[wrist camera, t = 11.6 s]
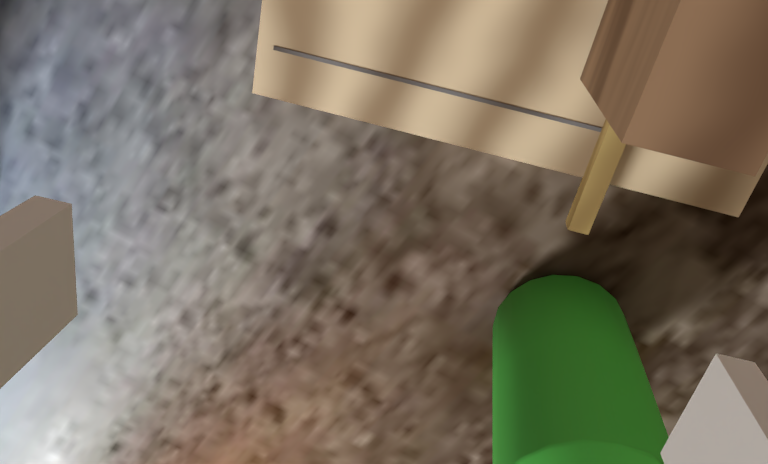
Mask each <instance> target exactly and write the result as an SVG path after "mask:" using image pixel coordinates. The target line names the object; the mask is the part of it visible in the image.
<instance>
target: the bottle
mask: <svg viewBox="0 0 768 464" xmlns="http://www.w3.org/2000/svg"><path fill="white" fill-rule="evenodd" d="M668 438H669V437H668V434H667V432H666V429H665V426H664V423H663V420H662V418H661V415H660V412H659V409H658V406H657V404H656V401H655V398H654V395H653V392H652V390H651V387H650V384H649V381H648V379H647V376H646V373H645V370H644V368H643V365H642V362H641V359H640V357H639V354H638V351H637V349H636V346H635V343H634V340H633V338H632V335H631V332H630V329H629V327H628V324H627V321H626V318H625V316H624V314H623V312H622V310H621V308H620V306H619V304H618V302H617V300H616V299H615V298H614V297H613V296H612V295H611V294H610V293H608V292H607V291H606V290H605V289H604V288H603V287H601V286H600V285H599V284H596V283H594V282H591V281H588V280H586V279H583V278H581V277H578V276H565V275H550V276H546V277H542V278H538V279H533V280H530V281H528V282H526V283H525V284H523V285H521V286H520V287H518V288H516V289H515V290H513V291H512V292H510V294H509V295H508V296H507V297H506V299H505V300H504V301H503V302H502V304H501V305H500V306H499V307H498V310H497V314H496V317H495V320H494V324H493V464H664V462H663V459H662V457H661V454H660V452H661V451H662V449H663V447H664V445H665V444H666V442H667V440H668Z"/></svg>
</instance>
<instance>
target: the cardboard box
mask: <svg viewBox="0 0 768 464" xmlns="http://www.w3.org/2000/svg"><path fill="white" fill-rule="evenodd" d="M580 80H581V81H582V83H583V84H584V86H585V88H586V89H587V91H588V92H589V94H590V95H591V97H592V98H593V100H594V101H595V103H596V104H597V106H598V107H599V109H600V110H601V112H602V114H603V115H604V117H605V118H606V120H605V122H604V125H603V127H602V130H601V132H600V135H599V138H598V140H597V143H596V145H595V148H594V150H593V153H592V155H591V158H590V160H589V163H588V166H587V168H586V171H585V173H584V176H583V178H582V181H581V183H580V186H579V188H578V191H577V194H576V196H575V199H574V201H573V204H572V206H571V209H570V211H569V214H568V216H567V219H566V225H567V228H568V230H571V231H575V232H578V233H582V234H586V235H588V234H589V232H590V230H591V227H592V225H593V222H594V220H595V218H596V215H597V213H598V210H599V208H600V206H601V203H602V201H603V198H604V196H605V194H606V191H607V189H608V186H609V184H610V182H611V179H612V177H613V174H614V172H615V170H616V167H617V165H618V162H619V160H620V158H621V155H622V153H623V150H624V148H625V146H626V144H628V145H632V146H636V147H640V148H644V149H648V150H652V151H656V152H660V153H664V154H667V155H671V156H675V157H679V158H683V159H687V160H691V161H695V162H699V163H703V164H707V165H711V166H715V167H719V168H723V169H727V170H731V171H735V172H739V173H743V174H747V175H751V176H756V174H757V172H758V170H759V169H760V167H761V165H762V163H763V161H764V159H765V157H766V156H767V154H768V0H608V2H607V5H606V8H605V11H604V13H603V16H602V19H601V22H600V25H599V27H598V30H597V33H596V36H595V38H594V41H593V44H592V47H591V50H590V52H589V55H588V58H587V61H586V63H585V66H584V69H583V72H582V74H581V77H580Z"/></svg>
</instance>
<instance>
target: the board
mask: <svg viewBox="0 0 768 464" xmlns="http://www.w3.org/2000/svg"><path fill="white" fill-rule="evenodd" d="M607 2H608V0H262V8H261V17H260V27H259V36H258V45H257V54H256V63H255V72H254V82H253V91H252V93H254V94H258V95H262V96H266V97H270V98H274V99H278V100H282V101H286V102H290V103H293V104H297V105H301V106H305V107H309V108H313V109H317V110H321V111H325V112H329V113H333V114H336V115H340V116H344V117H348V118H352V119H356V120H360V121H364V122H368V123H372V124H375V125H379V126H383V127H387V128H391V129H395V130H399V131H403V132H407V133H411V134H415V135H418V136H422V137H426V138H430V139H434V140H438V141H442V142H446V143H450V144H454V145H458V146H461V147H465V148H469V149H473V150H477V151H481V152H485V153H489V154H493V155H497V156H500V157H504V158H508V159H512V160H516V161H520V162H524V163H528V164H532V165H536V166H540V167H543V168H547V169H551V170H555V171H559V172H563V173H567V174H571V175H575V176H579V177H583V176H584V173H585V171H586V168H587V166H588V163H589V160H590V158H591V155H592V153H593V150H594V148H595V145H596V143H597V140H598V138H599V135H600V132H601V130H602V127H603V125H604V122H605V120H606V118H605V117H604V115H603V114H602V112H601V110H600V109H599V107H598V106H597V104H596V103H595V101H594V100H593V98H592V97H591V95H590V94H589V92H588V91H587V89H586V88H585V86H584V84H583V83H582V81H581V80H580V77H581V74H582V72H583V69H584V66H585V63H586V61H587V58H588V55H589V52H590V50H591V47H592V44H593V41H594V38H595V36H596V33H597V30H598V27H599V25H600V22H601V19H602V16H603V13H604V11H605V8H606V5H607ZM767 164H768V154H767V156H766V157H765V159H764V161H763V163H762V165H761V167H760V169H759V170H758V172H757V174H756V176H751V175H747V174H743V173H739V172H735V171H731V170H727V169H723V168H719V167H715V166H711V165H707V164H703V163H699V162H695V161H691V160H687V159H683V158H679V157H675V156H671V155H667V154H664V153H660V152H656V151H652V150H648V149H644V148H640V147H636V146H632V145H628V144H626V146H625V148H624V150H623V153H622V155H621V158H620V160H619V162H618V165H617V167H616V170H615V172H614V174H613V177H612V179H611V182H610V185H614V186H618V187H622V188H625V189H629V190H633V191H637V192H641V193H645V194H649V195H653V196H657V197H661V198H665V199H668V200H672V201H676V202H680V203H684V204H688V205H692V206H696V207H700V208H704V209H707V210H711V211H715V212H719V213H723V214H727V215H731V216H735V217H739V216H740V214H741V212H742V210H743V208H744V206H745V205H746V203H747V201H748V199H749V197H750V195H751V193H752V192H753V190H754V188H755V186H756V184H757V182H758V181H759V179H760V177H761V175H762V173H763V171H764V169H765V168H766V166H767Z"/></svg>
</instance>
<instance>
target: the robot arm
mask: <svg viewBox="0 0 768 464" xmlns="http://www.w3.org/2000/svg"><path fill="white" fill-rule="evenodd" d="M77 315H78V314H77V295H76V277H75V258H74V240H73V221H72V204H70V203H65V202H61V201H57V200H53V199H48V198H44V197H40V196H33V197H32V198H30V199H28V200H27V201H25V202H23V203H22V204H20V205H18V206H16V207H15V208H13V209H11V210H10V211H8V212H6V213H5V214H3V215H1V216H0V388H1V387H3V386H4V385H5V384H6V383H7V382H8V381H9V380H10V379H11V378H12V377H13V376H14V375H15V374H16V373H17V372H18V371H19V370H20V369H21V368H22V367H23V366H24V365H25V364H27V363H28V362H29V361H30V360H31V359H32V358H33V357H34V356H35V355H36V354H37V353H38V352H39V351H40V350H41V349H42V348H43V347H44V346H45V345H46V344H47V343H48V342H50V341H51V340H52V339H53V338H54V337H55V336H56V335H57V334H58V333H59V332H60V331H61V330H62V329H63V328H64V327H65V326H66V325H67V324H68V323H69V322H70V321H71V320H73V319H74V318H75V317H76V316H77ZM660 454H661V457H662V459H663V462H664V464H768V381H767V380H766V378H765V377H764V375H763V374H762V372H761V371H760V369H759V368H758V366H757V365H756V363H755V362H751V361H746V360H742V359H738V358H733V357H729V356H725V355H720V354H715V356H714V358H713V360H712V362H711V363H710V365H709V367H708V369H707V370H706V372H705V374H704V376H703V378H702V379H701V381H700V383H699V385H698V386H697V388H696V390H695V392H694V394H693V395H692V397H691V399H690V401H689V403H688V404H687V406H686V408H685V410H684V411H683V413H682V415H681V417H680V419H679V420H678V422H677V424H676V426H675V427H674V429H673V431H672V433H671V435H670V436H669V438H668V440H667V442H666V444H665V445H664V447H663V449H662V451H661V452H660Z"/></svg>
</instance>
